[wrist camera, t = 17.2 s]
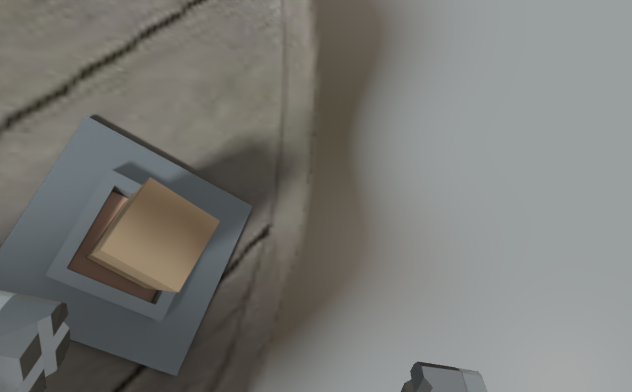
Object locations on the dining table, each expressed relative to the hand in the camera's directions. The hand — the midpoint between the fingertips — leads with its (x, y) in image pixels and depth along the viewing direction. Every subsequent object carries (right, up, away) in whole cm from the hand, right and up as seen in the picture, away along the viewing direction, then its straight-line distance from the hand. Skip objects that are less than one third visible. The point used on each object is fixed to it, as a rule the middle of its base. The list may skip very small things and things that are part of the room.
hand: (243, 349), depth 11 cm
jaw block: (-13, 0, +27) cm, 30 cm away
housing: (-14, -1, +27) cm, 31 cm away
